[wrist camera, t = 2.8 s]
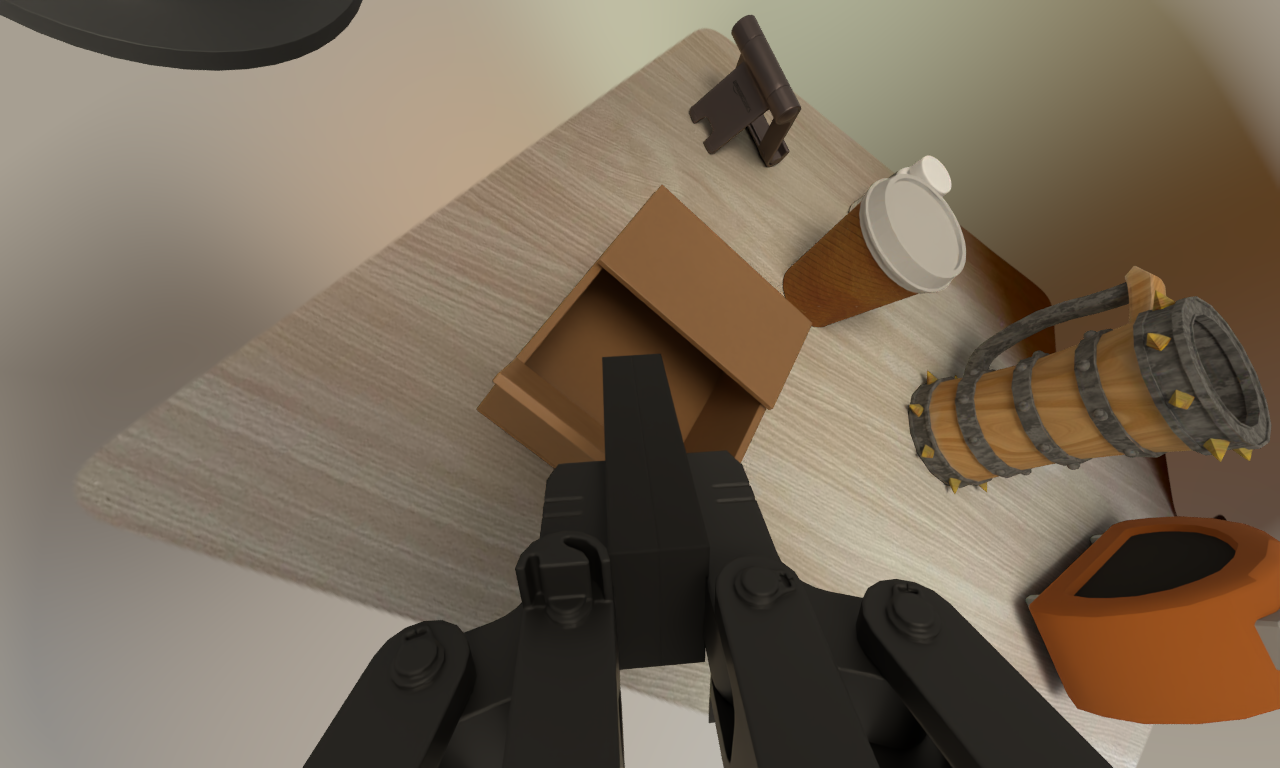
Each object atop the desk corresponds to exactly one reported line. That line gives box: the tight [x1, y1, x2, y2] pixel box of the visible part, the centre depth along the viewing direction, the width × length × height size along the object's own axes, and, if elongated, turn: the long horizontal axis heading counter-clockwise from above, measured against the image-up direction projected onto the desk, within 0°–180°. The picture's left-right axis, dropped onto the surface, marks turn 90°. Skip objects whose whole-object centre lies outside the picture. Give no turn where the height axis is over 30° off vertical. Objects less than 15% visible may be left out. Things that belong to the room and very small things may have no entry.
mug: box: [908, 266, 1271, 494], centre depth 45 cm, size 13×17×20 cm
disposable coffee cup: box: [783, 174, 966, 327], centre depth 44 cm, size 10×10×12 cm
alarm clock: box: [1025, 516, 1280, 724], centre depth 47 cm, size 23×9×17 cm, turn 112°
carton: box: [477, 185, 812, 468], centre depth 33 cm, size 13×15×9 cm
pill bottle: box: [849, 156, 951, 212], centre depth 53 cm, size 5×5×8 cm
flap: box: [493, 358, 605, 461], centre depth 22 cm, size 13×7×1 cm
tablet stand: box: [689, 15, 801, 167], centre depth 47 cm, size 9×8×8 cm
